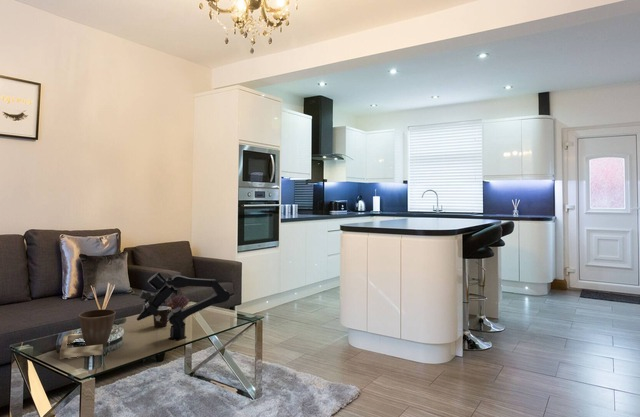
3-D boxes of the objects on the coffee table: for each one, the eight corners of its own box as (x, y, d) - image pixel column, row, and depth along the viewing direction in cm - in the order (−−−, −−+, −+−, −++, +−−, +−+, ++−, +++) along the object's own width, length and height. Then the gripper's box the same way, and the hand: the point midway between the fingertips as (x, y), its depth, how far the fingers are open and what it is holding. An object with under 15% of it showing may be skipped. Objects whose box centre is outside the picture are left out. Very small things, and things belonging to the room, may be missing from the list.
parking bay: (102, 339, 198) (102, 331, 198) (102, 354, 179) (102, 345, 179) (64, 343, 190) (64, 335, 191) (59, 359, 171) (60, 350, 171)
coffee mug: (148, 326, 222) (149, 308, 222) (161, 323, 230) (162, 305, 230) (163, 330, 217) (164, 311, 217) (175, 326, 224) (176, 308, 224)
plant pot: (92, 355, 177) (94, 319, 177) (69, 349, 183) (71, 314, 183) (121, 345, 191) (122, 311, 191) (99, 340, 197) (100, 307, 197)
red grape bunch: (183, 306, 270) (184, 291, 270) (194, 308, 266) (195, 293, 266) (162, 312, 254) (163, 296, 254) (174, 314, 250) (175, 298, 250)
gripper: (148, 281, 206) (123, 304, 201) (152, 288, 190) (125, 313, 184) (164, 296, 210) (140, 319, 205) (169, 303, 193) (143, 329, 188)
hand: (137, 319), depth 195 cm, fingers closed
